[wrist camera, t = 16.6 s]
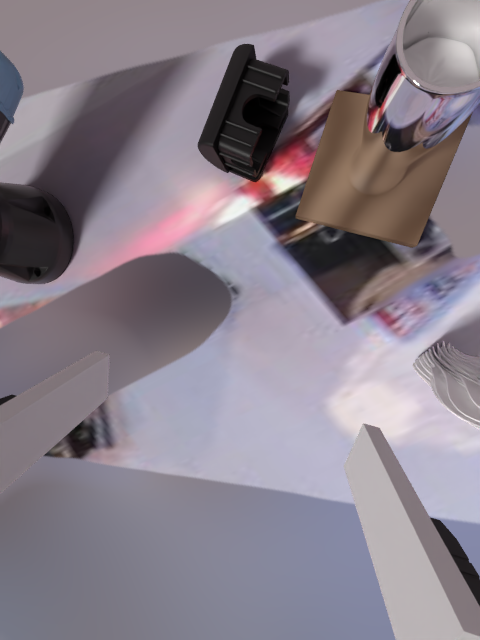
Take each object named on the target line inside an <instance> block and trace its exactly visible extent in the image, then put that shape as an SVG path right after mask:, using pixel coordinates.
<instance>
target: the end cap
mask: <svg viewBox="0 0 480 640" xmlns="http://www.w3.org/2000/svg"><path fill="white" fill-rule="evenodd" d="M288 83H289V71H288V70H286V69H283V68H280V67H277V66H274V65H271V64H268V63H265V62H262V61H259V60H256V54H255V49H254V45H251V44H242V45H239V46H238V47H237V48H236V49H235V50H234V52H233V54H232V57H231V60H230V62H229V65H228V67H227V70H226V72H225V75H224V78H223V80H222V83H221V85H220V88H219V90H218V93H217V96H216V98H215V101H214V103H213V106H212V108H211V111H210V114H209V116H208V119H207V121H206V124H205V126H204V129H203V132H202V134H201V137H200V139H199V142H198V149H199V151H200V153H201V154H202V155H203V156H204V157H205V158H206V159H207V160H208V161H209V162H210V163H212V164H213V165H214V166H216V167H217V168H219V169H221V170H223V171H224V172H227V173H228V172H229V171H230V172H232V173H234V174H236V175H239V176H241V177H243V178H246V179H248V180H250V181H253V182H257V181H258V180H259V179H260V177H261V174H262V172H263V170H264V168H265V166H266V163H267V161H268V159H269V157H270V154H271V152H272V150H273V148H274V145H275V143H276V141H277V139H278V137H279V134H280V132H281V130H282V128H283V125H284V123H285V121H286V119H287V116H288V106H289V101H290V96H289V91H287V90H284V89H281V87H282V84H284V85H288Z"/></svg>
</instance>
